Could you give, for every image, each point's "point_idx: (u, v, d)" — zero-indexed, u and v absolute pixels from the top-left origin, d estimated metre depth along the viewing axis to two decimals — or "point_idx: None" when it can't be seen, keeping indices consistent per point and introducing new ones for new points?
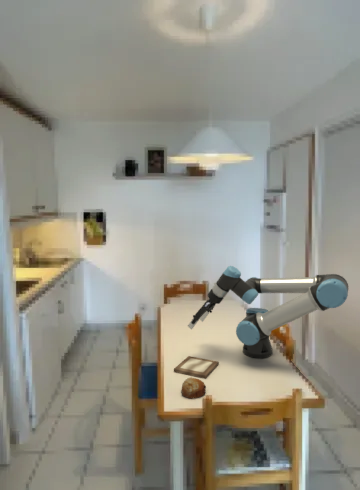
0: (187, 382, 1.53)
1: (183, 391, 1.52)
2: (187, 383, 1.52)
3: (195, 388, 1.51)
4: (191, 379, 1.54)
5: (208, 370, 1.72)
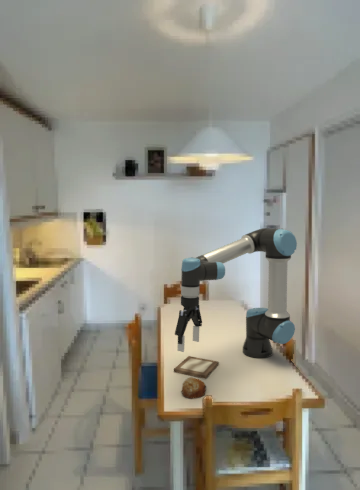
0: (187, 382, 1.53)
1: (183, 391, 1.52)
2: (187, 383, 1.52)
3: (195, 388, 1.51)
4: (191, 379, 1.54)
5: (208, 370, 1.72)
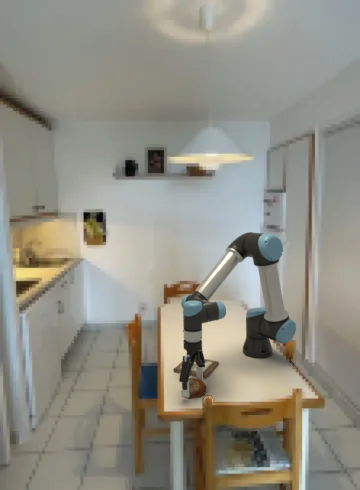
0: None
1: None
2: None
3: (195, 388, 1.51)
4: (192, 379, 1.54)
5: (208, 370, 1.72)
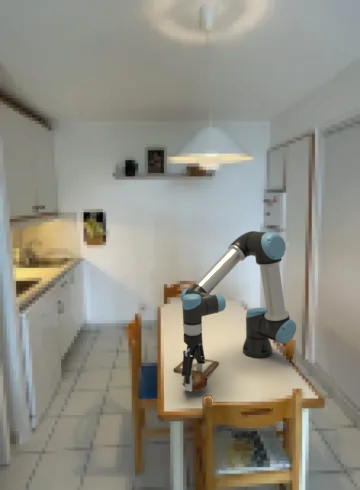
0: None
1: None
2: None
3: (196, 380, 1.51)
4: (193, 371, 1.54)
5: (208, 370, 1.72)
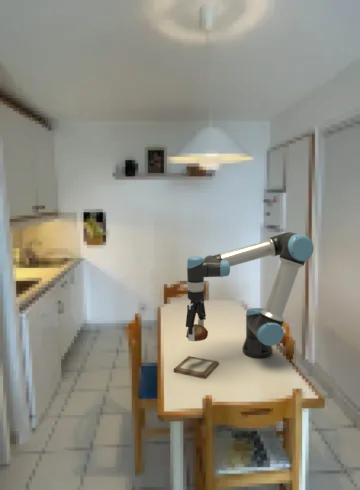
0: None
1: None
2: None
3: (198, 332, 1.71)
4: (195, 325, 1.74)
5: (208, 370, 1.72)
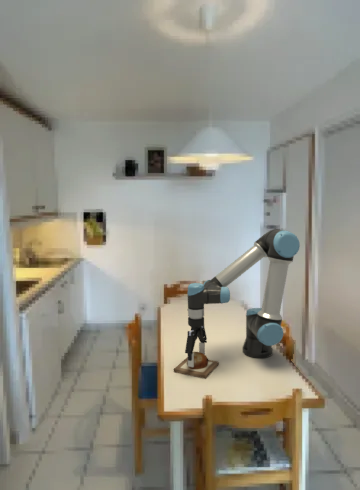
0: None
1: None
2: None
3: (198, 360, 1.73)
4: (195, 353, 1.76)
5: (208, 370, 1.72)
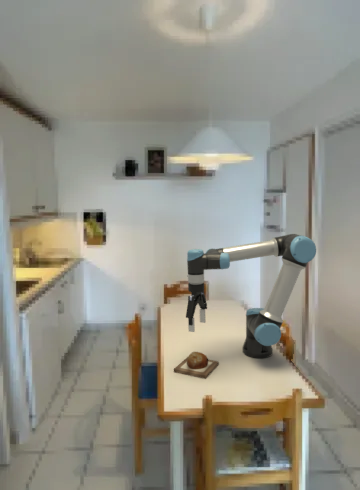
0: (192, 355, 1.75)
1: (188, 363, 1.74)
2: (192, 356, 1.75)
3: (198, 360, 1.73)
4: (195, 353, 1.76)
5: (208, 370, 1.72)
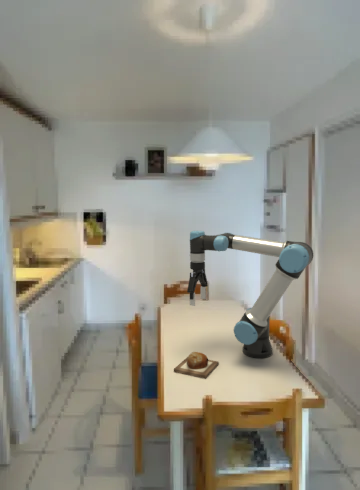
0: (192, 355, 1.75)
1: (188, 363, 1.74)
2: (192, 356, 1.75)
3: (198, 360, 1.73)
4: (195, 353, 1.76)
5: (208, 370, 1.72)
